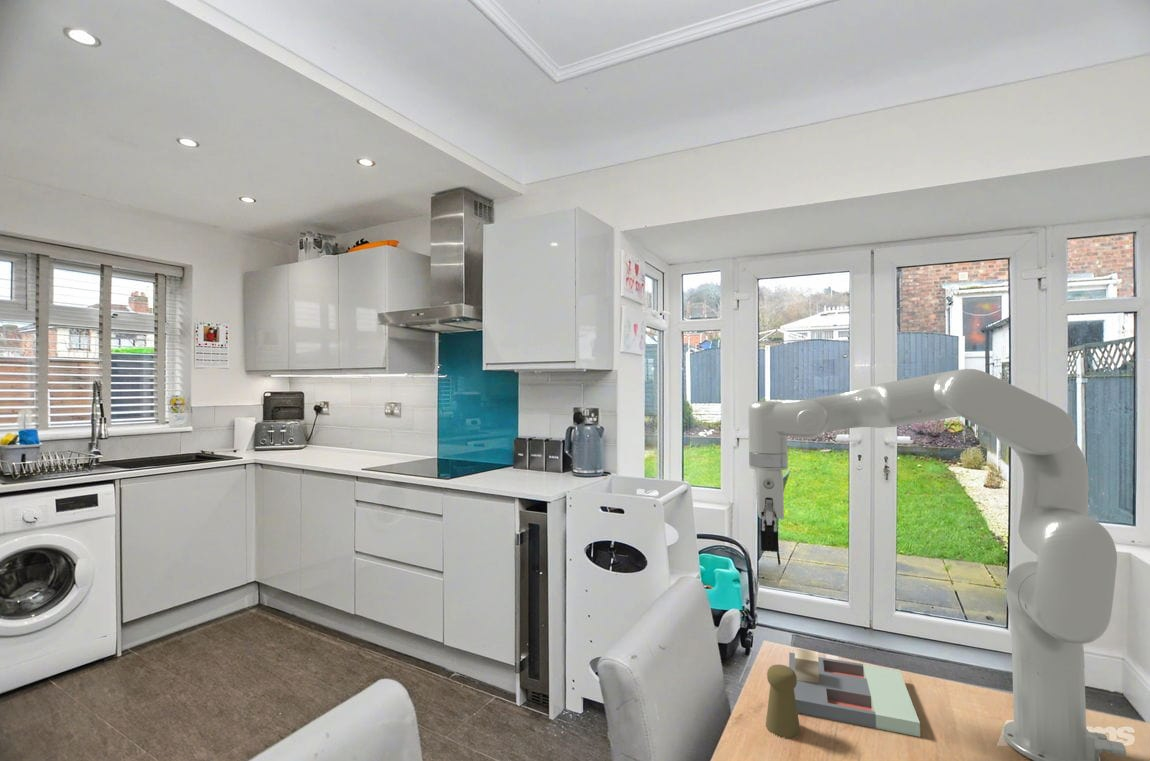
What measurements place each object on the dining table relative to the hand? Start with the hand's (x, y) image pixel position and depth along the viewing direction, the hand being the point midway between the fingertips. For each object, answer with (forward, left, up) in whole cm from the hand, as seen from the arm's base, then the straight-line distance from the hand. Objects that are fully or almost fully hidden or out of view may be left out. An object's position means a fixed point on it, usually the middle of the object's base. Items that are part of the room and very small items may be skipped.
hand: (769, 544), depth 111 cm
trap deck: (-14, -6, -31) cm, 35 cm away
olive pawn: (-2, +10, -31) cm, 33 cm away
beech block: (-7, -6, -29) cm, 30 cm away
